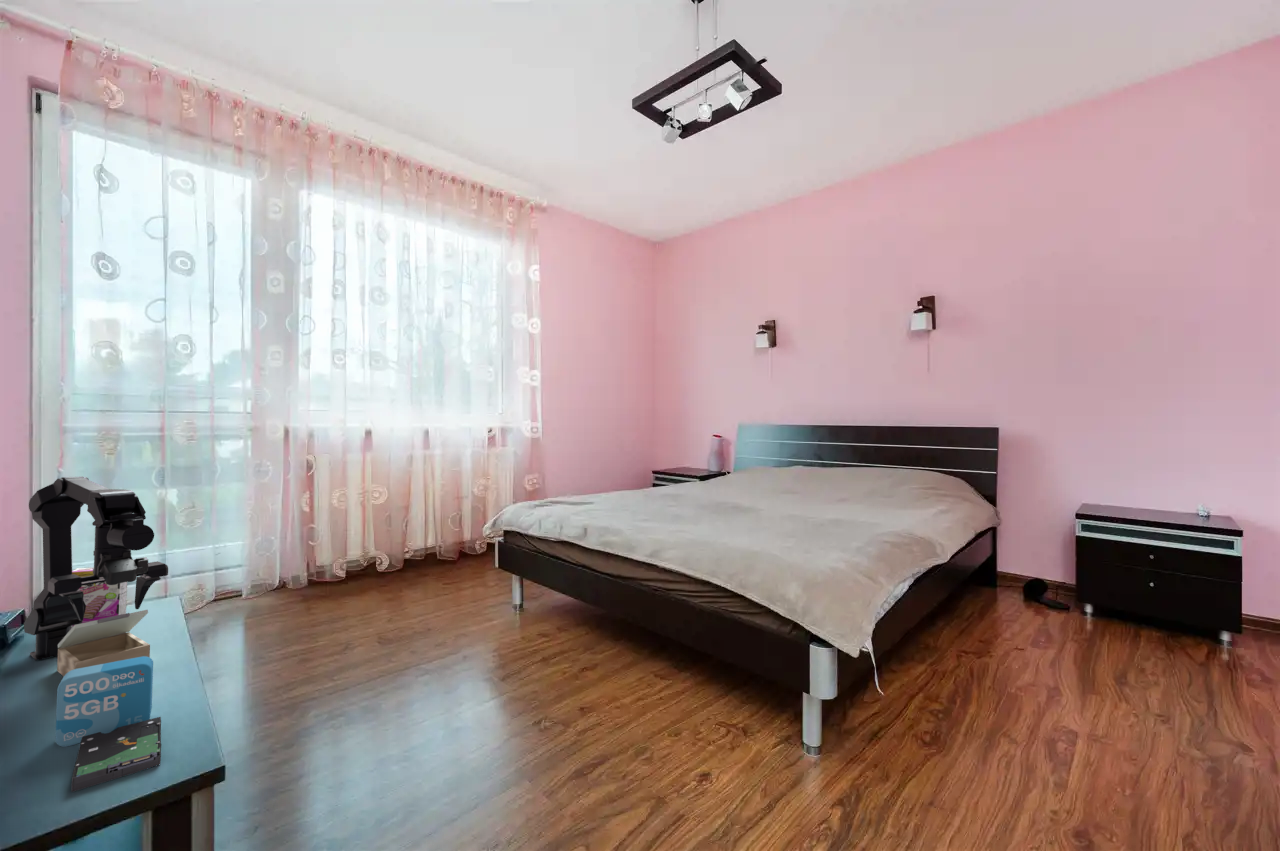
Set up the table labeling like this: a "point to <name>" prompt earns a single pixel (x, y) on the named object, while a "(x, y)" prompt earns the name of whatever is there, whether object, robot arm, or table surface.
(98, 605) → the candy bar box
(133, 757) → the disk drive
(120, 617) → the lid
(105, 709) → the data package
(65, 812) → the table surface
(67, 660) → the box
